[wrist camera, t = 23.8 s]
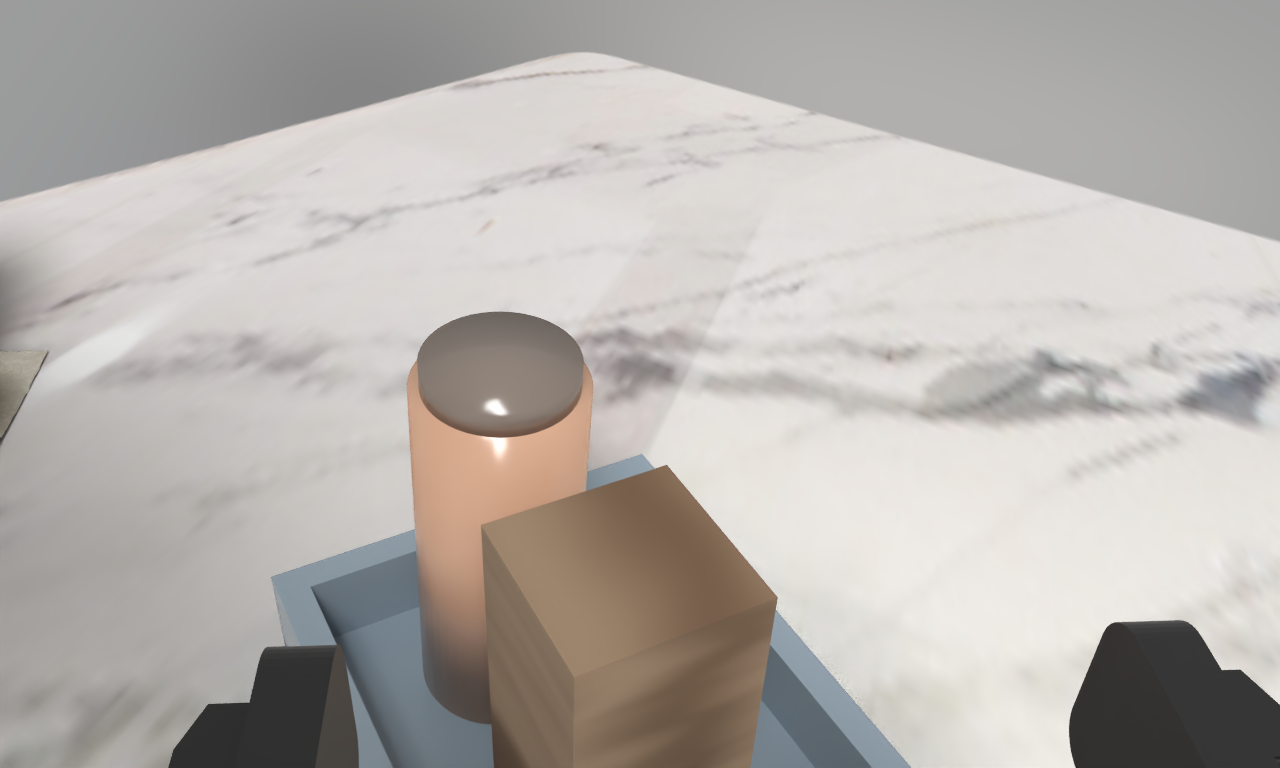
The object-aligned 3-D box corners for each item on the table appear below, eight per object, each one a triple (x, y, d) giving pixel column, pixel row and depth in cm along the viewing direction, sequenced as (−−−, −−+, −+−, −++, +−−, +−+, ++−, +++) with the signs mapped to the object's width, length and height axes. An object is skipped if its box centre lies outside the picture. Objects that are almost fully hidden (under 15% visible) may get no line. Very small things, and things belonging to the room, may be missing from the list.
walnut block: (570, 973, 31) (573, 677, 24) (496, 822, 34) (481, 525, 27) (729, 892, 33) (777, 597, 26) (645, 757, 36) (667, 465, 29)
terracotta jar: (418, 726, 37) (399, 422, 29) (426, 604, 41) (411, 304, 33) (576, 722, 37) (601, 422, 29) (569, 601, 41) (589, 306, 33)
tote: (498, 1166, 28) (493, 1102, 26) (286, 648, 40) (271, 576, 38) (943, 903, 34) (968, 834, 32) (638, 521, 46) (642, 454, 44)
